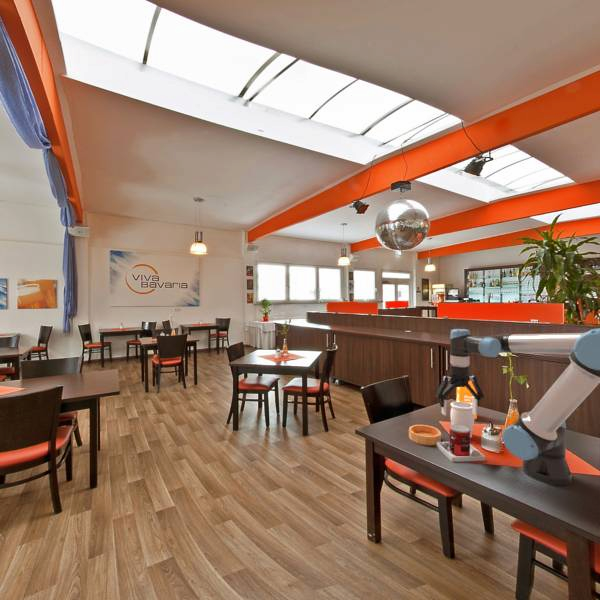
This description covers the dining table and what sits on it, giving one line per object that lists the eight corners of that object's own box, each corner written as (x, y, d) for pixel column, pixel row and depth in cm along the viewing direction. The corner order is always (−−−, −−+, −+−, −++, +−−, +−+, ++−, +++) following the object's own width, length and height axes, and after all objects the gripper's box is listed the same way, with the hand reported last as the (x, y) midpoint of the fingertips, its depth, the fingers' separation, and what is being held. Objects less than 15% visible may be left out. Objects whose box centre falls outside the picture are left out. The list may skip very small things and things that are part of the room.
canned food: (450, 447, 149) (450, 423, 149) (470, 451, 145) (470, 426, 145) (448, 454, 142) (448, 429, 142) (469, 459, 138) (469, 432, 138)
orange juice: (477, 418, 183) (477, 382, 182) (459, 417, 185) (459, 381, 184) (473, 413, 190) (473, 379, 190) (456, 412, 192) (456, 378, 192)
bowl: (446, 445, 151) (446, 436, 151) (416, 446, 151) (416, 437, 151) (432, 432, 165) (432, 424, 165) (404, 433, 165) (404, 425, 165)
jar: (469, 431, 167) (469, 401, 166) (478, 440, 156) (478, 408, 156) (447, 430, 168) (447, 400, 167) (454, 439, 157) (454, 407, 157)
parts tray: (485, 461, 137) (485, 456, 137) (451, 462, 136) (451, 457, 136) (466, 445, 151) (466, 441, 151) (436, 446, 150) (436, 442, 150)
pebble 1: (449, 449, 146) (449, 443, 146) (442, 450, 146) (442, 443, 146) (446, 446, 149) (446, 440, 149) (439, 447, 149) (439, 440, 149)
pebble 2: (481, 459, 138) (481, 452, 138) (474, 459, 138) (474, 452, 138) (477, 456, 141) (477, 449, 141) (470, 456, 141) (470, 449, 141)
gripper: (482, 362, 147) (482, 410, 148) (427, 363, 146) (427, 411, 147) (493, 366, 140) (492, 416, 140) (435, 367, 139) (434, 417, 139)
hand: (459, 414), depth 143 cm, fingers open, 13 cm apart
